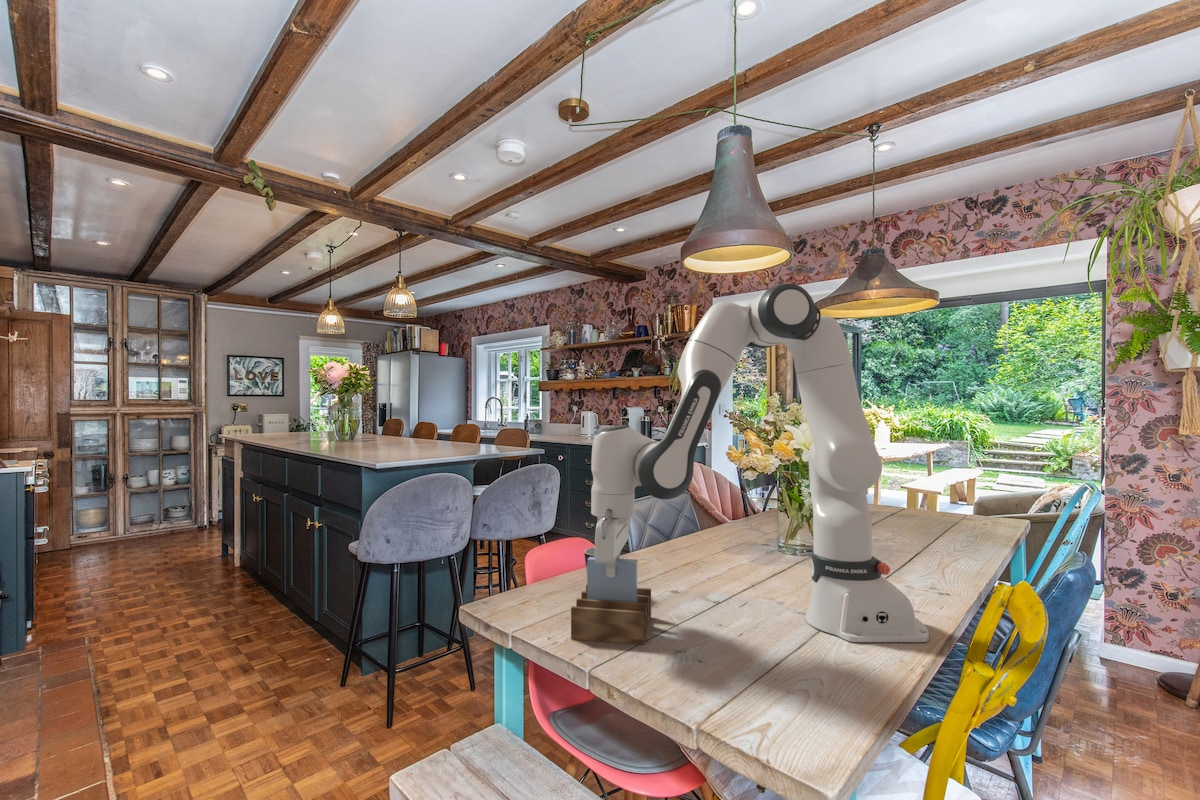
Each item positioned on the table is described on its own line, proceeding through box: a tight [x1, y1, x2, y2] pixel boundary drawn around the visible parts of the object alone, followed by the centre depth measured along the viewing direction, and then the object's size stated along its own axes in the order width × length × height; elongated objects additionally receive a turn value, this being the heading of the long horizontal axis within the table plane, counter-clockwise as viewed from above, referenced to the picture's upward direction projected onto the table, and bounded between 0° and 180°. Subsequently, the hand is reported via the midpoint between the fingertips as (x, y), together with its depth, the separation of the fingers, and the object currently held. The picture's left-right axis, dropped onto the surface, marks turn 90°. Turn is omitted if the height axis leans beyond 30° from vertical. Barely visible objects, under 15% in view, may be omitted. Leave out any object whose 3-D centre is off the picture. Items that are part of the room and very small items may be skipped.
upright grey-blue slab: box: [586, 557, 639, 603], centre depth 112 cm, size 10×2×9 cm, turn 79°
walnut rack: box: [570, 584, 652, 646], centre depth 112 cm, size 14×14×6 cm
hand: (612, 573), depth 112 cm, fingers closed on upright grey-blue slab, 2 cm apart
